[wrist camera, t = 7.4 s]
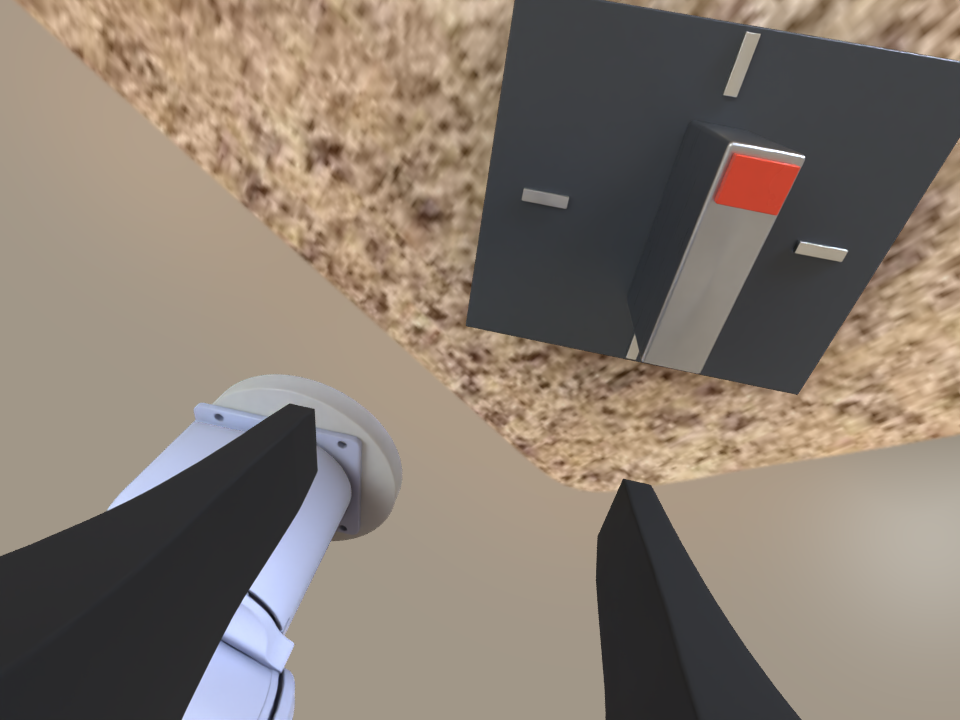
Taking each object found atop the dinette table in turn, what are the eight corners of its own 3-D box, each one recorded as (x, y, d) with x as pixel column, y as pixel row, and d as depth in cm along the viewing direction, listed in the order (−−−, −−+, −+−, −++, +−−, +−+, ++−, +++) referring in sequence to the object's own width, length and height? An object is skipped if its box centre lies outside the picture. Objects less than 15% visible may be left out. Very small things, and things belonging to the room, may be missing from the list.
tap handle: (673, 309, 16) (702, 381, 13) (625, 299, 16) (641, 368, 13) (748, 130, 13) (813, 157, 10) (689, 119, 13) (733, 142, 10)
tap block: (478, 293, 20) (464, 328, 18) (525, -3, 15) (516, -16, 12) (768, 352, 20) (799, 398, 17) (927, 66, 14) (1009, 68, 12)
